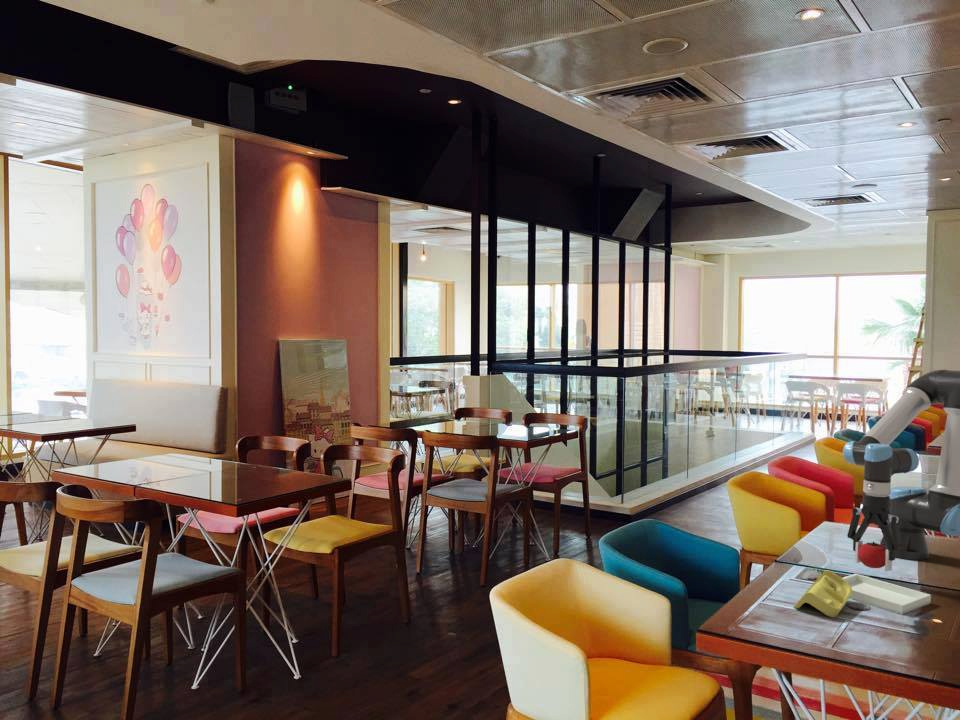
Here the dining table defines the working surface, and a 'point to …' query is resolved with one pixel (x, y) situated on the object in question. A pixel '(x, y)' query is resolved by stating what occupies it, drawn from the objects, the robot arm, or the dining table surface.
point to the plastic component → (827, 594)
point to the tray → (886, 594)
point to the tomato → (872, 555)
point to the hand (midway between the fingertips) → (873, 566)
